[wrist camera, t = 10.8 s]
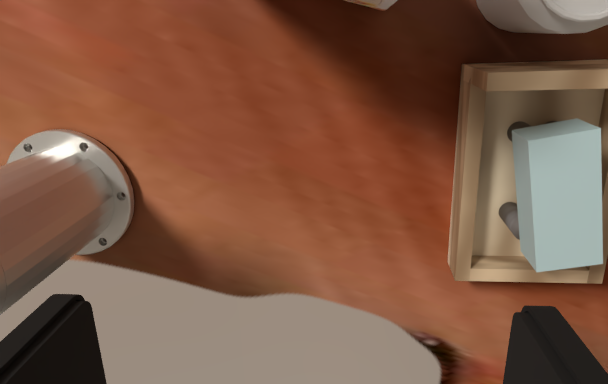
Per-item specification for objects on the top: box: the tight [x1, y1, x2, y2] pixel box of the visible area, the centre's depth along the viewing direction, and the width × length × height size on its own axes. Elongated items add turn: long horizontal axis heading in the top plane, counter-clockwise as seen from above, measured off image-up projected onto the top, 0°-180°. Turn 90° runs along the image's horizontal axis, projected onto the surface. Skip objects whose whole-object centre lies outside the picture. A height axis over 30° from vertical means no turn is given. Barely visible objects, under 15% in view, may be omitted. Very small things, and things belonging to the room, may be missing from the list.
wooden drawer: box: [448, 59, 608, 284], centre depth 36 cm, size 12×18×8 cm, turn 2°
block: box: [512, 118, 603, 272], centre depth 34 cm, size 10×4×4 cm, turn 12°
